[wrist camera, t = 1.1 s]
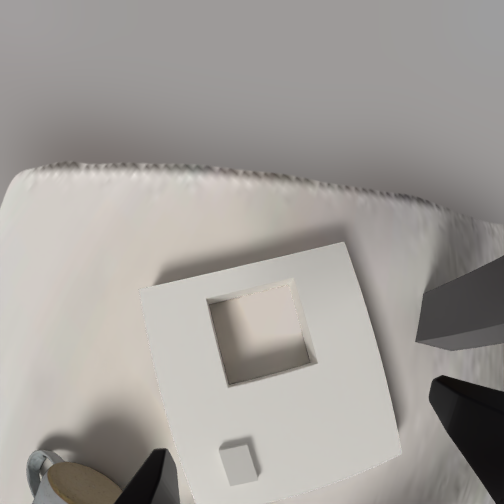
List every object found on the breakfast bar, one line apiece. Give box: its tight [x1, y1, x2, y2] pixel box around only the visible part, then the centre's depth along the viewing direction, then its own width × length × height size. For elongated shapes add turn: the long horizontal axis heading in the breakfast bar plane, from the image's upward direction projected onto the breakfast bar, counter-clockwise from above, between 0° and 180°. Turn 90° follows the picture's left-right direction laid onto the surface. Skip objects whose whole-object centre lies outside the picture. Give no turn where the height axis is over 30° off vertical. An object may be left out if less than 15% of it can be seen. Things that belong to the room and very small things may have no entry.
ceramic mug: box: [26, 450, 123, 504], centre depth 14 cm, size 11×8×8 cm
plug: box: [415, 256, 504, 351], centre depth 18 cm, size 5×5×14 cm
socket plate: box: [139, 241, 402, 504], centre depth 21 cm, size 18×16×3 cm
